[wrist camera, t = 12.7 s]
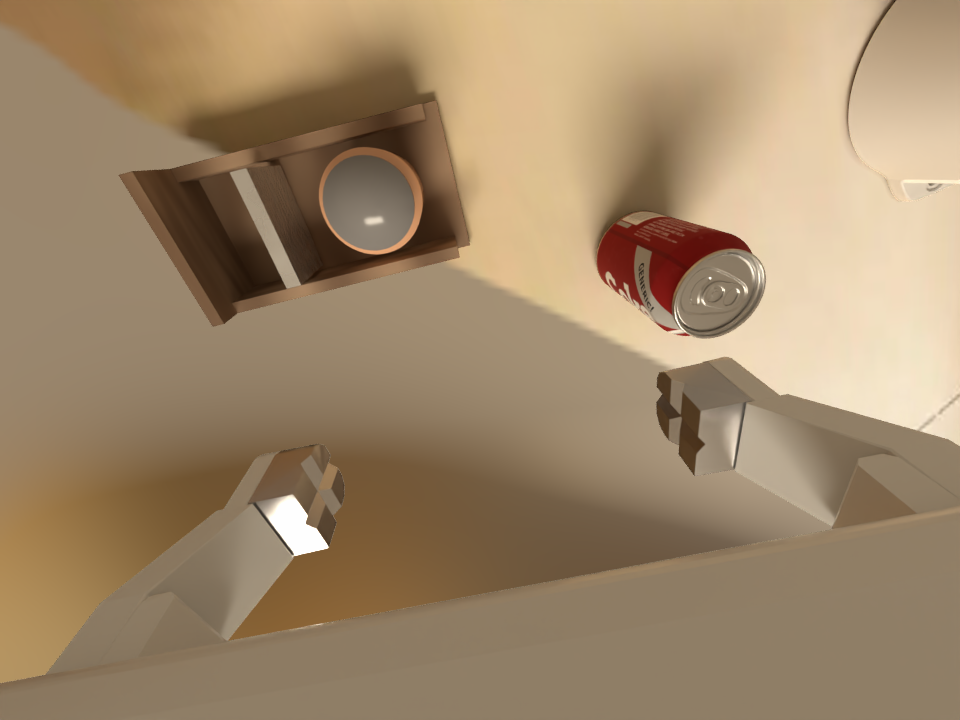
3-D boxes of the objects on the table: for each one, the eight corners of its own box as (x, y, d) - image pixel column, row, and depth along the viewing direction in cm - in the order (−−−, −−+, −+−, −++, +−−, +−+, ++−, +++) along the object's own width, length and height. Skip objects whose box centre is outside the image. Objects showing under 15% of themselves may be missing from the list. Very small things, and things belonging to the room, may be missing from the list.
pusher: (280, 165, 27) (246, 168, 22) (323, 264, 31) (301, 285, 26) (245, 174, 27) (203, 179, 22) (291, 272, 31) (263, 294, 26)
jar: (415, 144, 27) (409, 139, 21) (430, 230, 30) (429, 249, 24) (331, 155, 27) (299, 154, 21) (354, 241, 30) (333, 263, 24)
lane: (436, 101, 27) (435, 87, 21) (469, 243, 32) (476, 263, 26) (184, 167, 27) (116, 171, 22) (255, 297, 32) (214, 329, 26)
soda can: (609, 202, 31) (695, 227, 21) (682, 218, 32) (799, 250, 22) (582, 282, 34) (646, 339, 24) (650, 294, 35) (740, 354, 25)
